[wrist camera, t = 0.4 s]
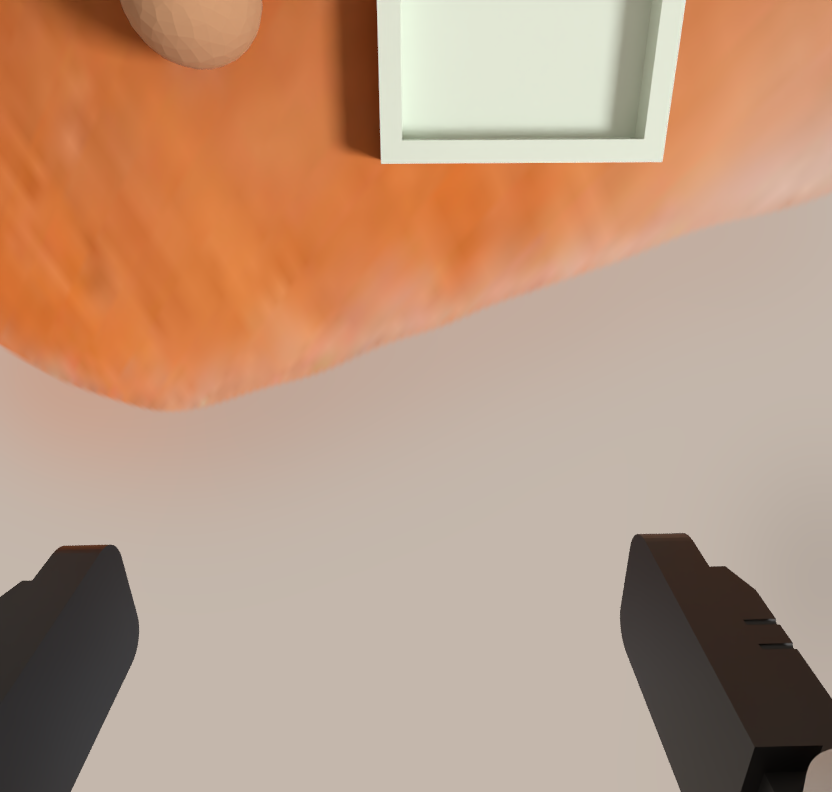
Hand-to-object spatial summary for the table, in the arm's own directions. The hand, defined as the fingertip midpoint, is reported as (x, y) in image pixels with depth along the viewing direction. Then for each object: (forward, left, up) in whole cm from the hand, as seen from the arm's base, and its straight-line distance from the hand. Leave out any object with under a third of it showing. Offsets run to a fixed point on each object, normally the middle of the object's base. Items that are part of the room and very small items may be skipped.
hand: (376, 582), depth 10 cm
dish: (-11, +6, -26) cm, 29 cm away
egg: (-11, -8, -26) cm, 29 cm away
